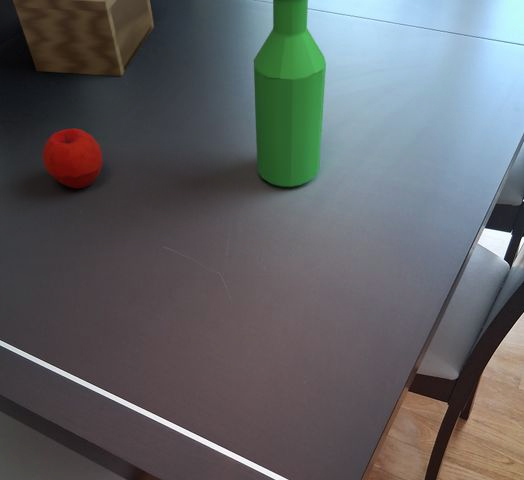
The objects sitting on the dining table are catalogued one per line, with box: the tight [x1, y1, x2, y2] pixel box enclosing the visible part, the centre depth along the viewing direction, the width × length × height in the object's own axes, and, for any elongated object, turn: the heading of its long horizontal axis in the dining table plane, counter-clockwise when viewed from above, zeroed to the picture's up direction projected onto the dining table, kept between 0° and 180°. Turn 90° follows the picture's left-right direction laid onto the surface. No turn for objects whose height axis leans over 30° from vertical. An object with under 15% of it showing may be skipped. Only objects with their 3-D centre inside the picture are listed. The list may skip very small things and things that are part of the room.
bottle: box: [253, 0, 327, 188], centre depth 71 cm, size 9×9×25 cm
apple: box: [42, 128, 103, 189], centre depth 78 cm, size 8×8×7 cm
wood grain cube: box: [12, 0, 155, 77], centre depth 102 cm, size 16×20×12 cm
